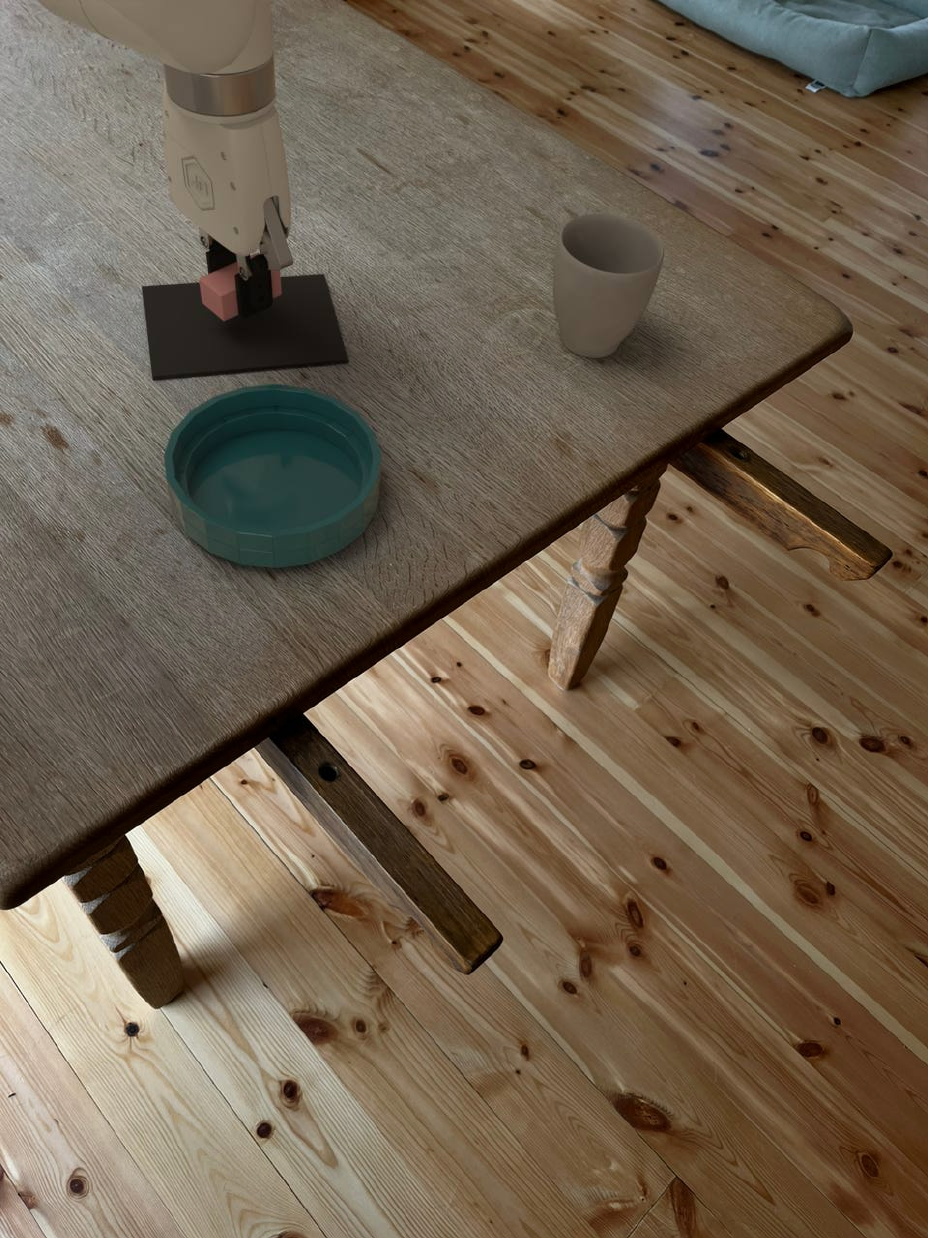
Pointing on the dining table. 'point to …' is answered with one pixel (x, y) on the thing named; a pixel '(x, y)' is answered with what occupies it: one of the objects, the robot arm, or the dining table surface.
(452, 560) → the dining table surface
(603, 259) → the mug
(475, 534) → the dining table surface
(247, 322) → the mat
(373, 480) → the bowl
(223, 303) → the eraser
